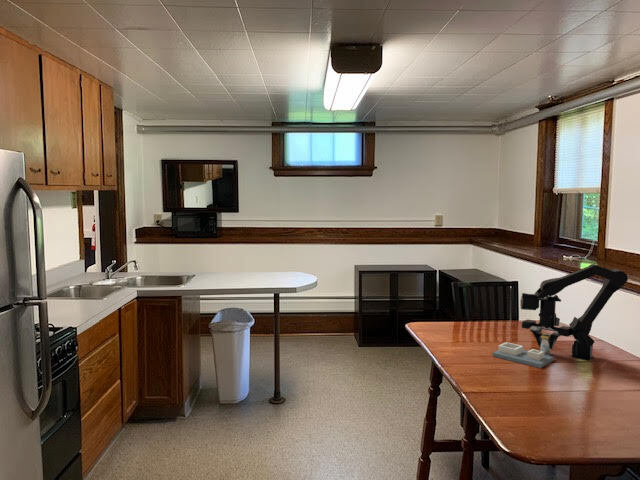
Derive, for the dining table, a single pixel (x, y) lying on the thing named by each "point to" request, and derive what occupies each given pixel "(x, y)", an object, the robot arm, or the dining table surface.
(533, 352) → the board
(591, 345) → the robot arm
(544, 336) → the gold capped canister
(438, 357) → the dining table surface
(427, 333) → the dining table surface
